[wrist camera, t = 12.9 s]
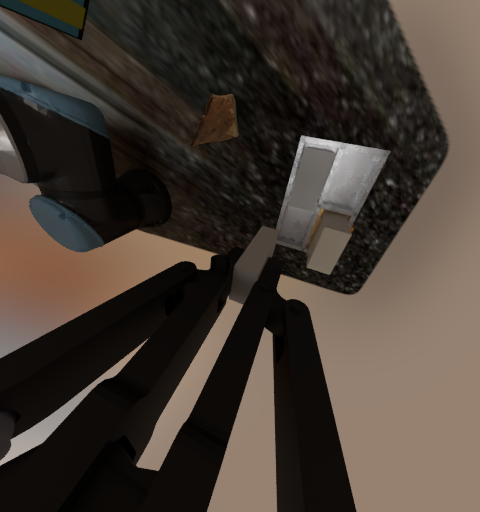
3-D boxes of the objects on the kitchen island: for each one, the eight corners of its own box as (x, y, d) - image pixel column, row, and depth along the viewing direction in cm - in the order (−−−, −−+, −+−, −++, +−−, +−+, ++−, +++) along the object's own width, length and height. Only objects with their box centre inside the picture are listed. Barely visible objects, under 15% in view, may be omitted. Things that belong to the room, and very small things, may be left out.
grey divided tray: (274, 236, 45) (272, 242, 43) (302, 136, 34) (301, 135, 31) (335, 254, 42) (336, 261, 40) (389, 150, 31) (395, 151, 28)
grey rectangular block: (295, 191, 38) (287, 205, 30) (308, 146, 33) (304, 147, 25) (315, 196, 37) (313, 212, 29) (332, 150, 33) (335, 153, 25)
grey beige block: (309, 243, 42) (306, 267, 34) (324, 208, 37) (324, 227, 29) (328, 248, 41) (329, 275, 33) (345, 214, 37) (351, 234, 29)
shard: (194, 145, 42) (190, 146, 40) (186, 102, 38) (180, 100, 37) (240, 138, 38) (237, 138, 36) (235, 88, 34) (231, 86, 33)
